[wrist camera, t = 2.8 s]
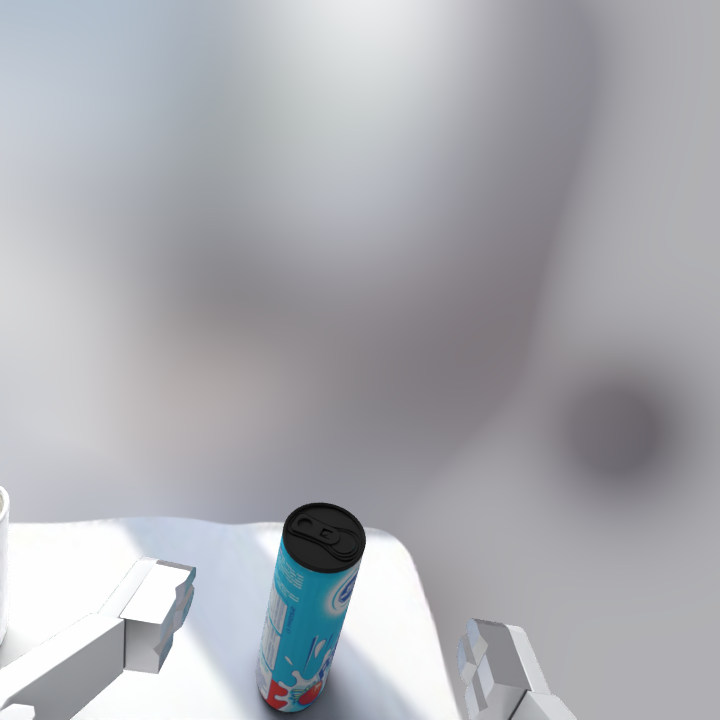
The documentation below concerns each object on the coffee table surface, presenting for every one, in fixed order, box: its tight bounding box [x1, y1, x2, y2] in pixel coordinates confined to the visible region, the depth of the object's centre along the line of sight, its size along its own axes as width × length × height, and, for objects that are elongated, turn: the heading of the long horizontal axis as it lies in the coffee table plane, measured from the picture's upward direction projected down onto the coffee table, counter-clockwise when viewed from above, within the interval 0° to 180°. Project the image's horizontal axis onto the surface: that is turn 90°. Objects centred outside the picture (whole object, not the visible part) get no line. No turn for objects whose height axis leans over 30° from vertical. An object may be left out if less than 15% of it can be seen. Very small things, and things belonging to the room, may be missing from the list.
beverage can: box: [256, 503, 366, 713], centre depth 26 cm, size 6×6×15 cm
